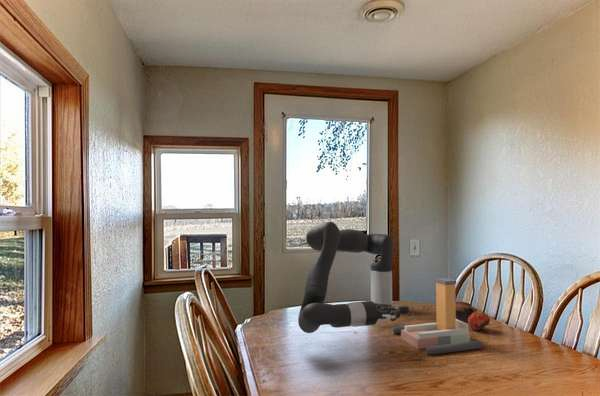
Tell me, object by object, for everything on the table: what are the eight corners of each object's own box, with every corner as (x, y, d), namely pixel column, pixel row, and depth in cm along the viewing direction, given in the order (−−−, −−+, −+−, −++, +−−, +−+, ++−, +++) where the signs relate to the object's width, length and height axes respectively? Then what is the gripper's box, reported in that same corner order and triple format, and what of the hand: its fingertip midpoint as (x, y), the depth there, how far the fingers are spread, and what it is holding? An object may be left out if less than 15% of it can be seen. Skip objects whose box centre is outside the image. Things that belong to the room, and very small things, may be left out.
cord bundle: (394, 335, 136) (394, 328, 136) (391, 332, 138) (391, 326, 138) (443, 329, 142) (443, 323, 142) (439, 327, 144) (439, 321, 144)
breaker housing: (417, 349, 123) (417, 330, 123) (401, 338, 132) (400, 321, 132) (469, 342, 128) (469, 324, 128) (450, 333, 138) (450, 316, 138)
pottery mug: (443, 320, 155) (445, 300, 158) (458, 327, 158) (459, 308, 162) (470, 320, 145) (471, 298, 149) (485, 327, 149) (486, 307, 153)
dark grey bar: (428, 356, 117) (428, 348, 117) (424, 353, 119) (424, 345, 119) (484, 349, 122) (484, 341, 122) (478, 346, 125) (478, 339, 125)
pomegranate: (492, 336, 141) (473, 314, 148) (501, 324, 137) (481, 302, 144) (477, 341, 138) (459, 318, 145) (486, 329, 134) (467, 306, 141)
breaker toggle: (445, 332, 128) (445, 281, 129) (435, 327, 134) (435, 278, 134) (456, 331, 130) (456, 280, 130) (446, 326, 135) (446, 277, 135)
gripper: (369, 307, 116) (418, 303, 121) (351, 297, 129) (397, 293, 134) (369, 332, 116) (419, 327, 121) (351, 319, 129) (397, 315, 134)
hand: (407, 309), depth 128 cm, fingers closed
